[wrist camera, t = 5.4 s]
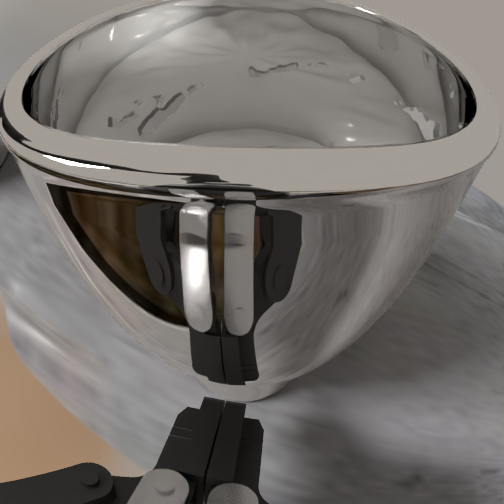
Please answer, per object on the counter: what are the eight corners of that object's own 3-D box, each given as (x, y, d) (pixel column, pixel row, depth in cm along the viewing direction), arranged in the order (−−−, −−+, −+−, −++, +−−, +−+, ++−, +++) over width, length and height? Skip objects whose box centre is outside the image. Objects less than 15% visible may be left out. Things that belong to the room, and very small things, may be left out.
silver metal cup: (155, 372, 15) (-72, 132, 2) (215, 268, 18) (186, -18, 6) (277, 431, 13) (571, 412, 1) (327, 315, 17) (467, 43, 4)
